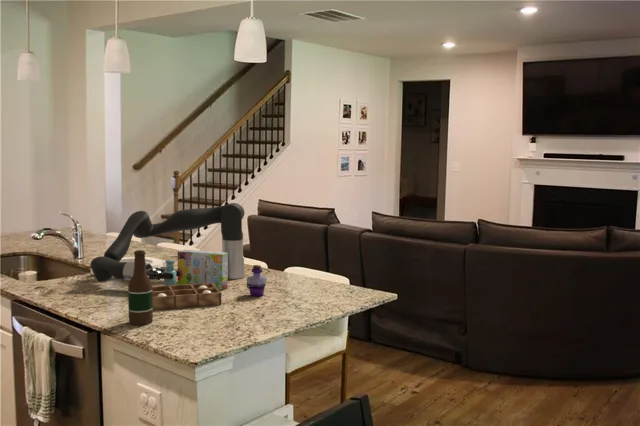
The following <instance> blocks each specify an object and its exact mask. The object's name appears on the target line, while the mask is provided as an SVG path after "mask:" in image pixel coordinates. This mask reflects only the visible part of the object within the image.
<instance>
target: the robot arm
mask: <svg viewBox="0 0 640 426" xmlns="http://www.w3.org/2000/svg"><path fill="white" fill-rule="evenodd" d="M244 217H245V209H244V207H243V206H242V205H240V204H239V203H236V202H231V203H228V204H225V205H220V206H216V207H215V206H213V207H201V208H199V207H198V208H187V209H180V210H177V211H175V212H174V213H173V214H171V215H170V216H169V217H168V218H167V219H165V220H164V221H162V222H158V223H152V221H151V217H150V216H149V213H148V212H147V211H145V210H138V211H135V212H133V213H132V214H131V215H130V216H129V217H128V218H127V220H126V222H125V223H124V225H123V227H122V228H121V231H120V232H119V233H118V235H117V237H116V239H114V241H113V242H112V244H110V246H109V247H108V248H107V249H106V250H105V252H104V253H103V256H96V257H94V258H93V259H92V260H91V261H90V264H89V265H90V270H91V269H92V271H93V273H94V275H93V276H94V277H95V279H96V281H97V282H100V283H106V282H108V281H109V280H110V279H112V278H111V277H112V276H113V277H114V278H113V279H116V280H122V281H123V280H126V281H130V279H131V278H132V276H133V274H134V262H130V263H128V262H119V261H120V260H121V259H122V258H123V257H125V256H126V254H127V253H128V251H129V249H130V246H131V242H132V238H133V236H134V237H135V238H139V239H140V238H141V239H142V238H149V237H154V236H158V235H162V234H167V233H168V234H169V233H173V232H183V231H190V230H196V229H197V230H198V229H201V228H204V227H208V226H211V225H215V224H220V234H221V243H222V244H221V248H222V249H221V252H224V253H228V280H239V279H242V278H243V279H244V278H245V257H244V241H243V240H244V232H243V227H242V226H243V223H242V222H243V219H244ZM145 265H146V273H147V276H148V278H149V279H150V281H154V280H155V281H160V280H164V279H173V278H174V276H173V273H164V270H166V267H161V268H158V267H155V268H154V269H153V268H152V266H151V265H150V264H149V263H145ZM175 270H176V269H175ZM178 276H180V271H178V269H177V270H176V277H178Z"/></svg>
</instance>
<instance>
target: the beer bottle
mask: <svg viewBox="0 0 640 426" xmlns="http://www.w3.org/2000/svg"><path fill="white" fill-rule="evenodd" d="M133 255H134V257H135V261H134V274H133V276H132V278H131V279H130V280H129V282H128V284H127V285H128V289H127V293H128V294H127V297H128V300H127V301H128V302H127V303H128V322H129V325H131V326H136V327H139V326H140V327H141V326H148V325H150V324H152V323H153V320H154V319H153V318H154V316H153V315H154V314H153V311H154V310H153V297H152V287H153V283H152V280H150V279H149V278H148V276H147V273H146V265H145V257H146V256H145V255H147V254H146V251H145V250H142V249H140V250H139V249H138V250H134V252H133Z"/></svg>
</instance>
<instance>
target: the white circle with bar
mask: <svg viewBox="0 0 640 426" xmlns="http://www.w3.org/2000/svg"><path fill="white" fill-rule="evenodd" d="M165 260H166V259H165ZM165 260H162V259H160V258H156V257H148V256H145V263H149V264H150V265H151V266H152V268H153V269H154V268H155V267H158V268H161V267H166V262H165ZM134 261H135V256H124V257H123V258H122V259H121V260H120V261H119V262H128V263H130V262H134ZM90 274H91V275H93V276H94V273H93V271H92V269H91V268H90ZM110 279H115V278H114V277H113V276H112V277H111V278H110Z"/></svg>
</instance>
